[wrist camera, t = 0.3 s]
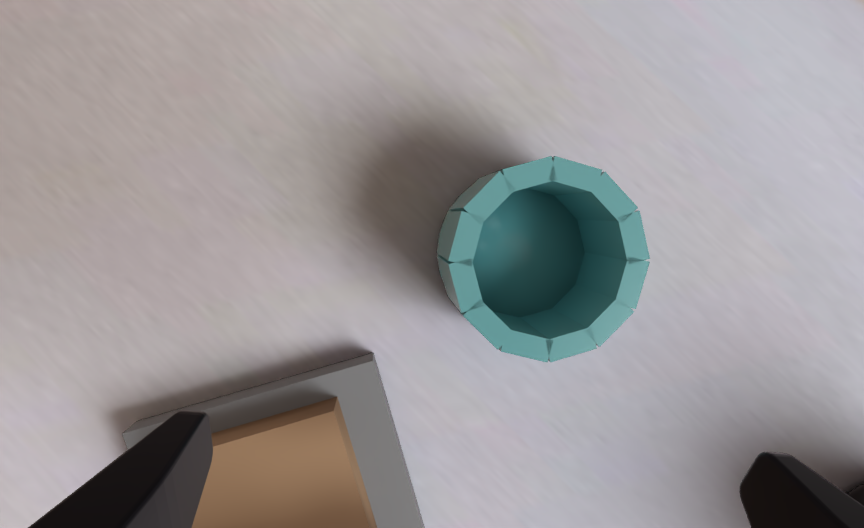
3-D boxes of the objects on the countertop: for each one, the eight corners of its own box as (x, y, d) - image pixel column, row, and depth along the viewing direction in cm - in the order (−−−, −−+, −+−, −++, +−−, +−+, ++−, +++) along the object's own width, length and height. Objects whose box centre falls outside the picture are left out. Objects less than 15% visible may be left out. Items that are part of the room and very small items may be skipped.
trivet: (446, 601, 23) (449, 622, 22) (227, 673, 22) (218, 699, 21) (373, 352, 21) (372, 360, 20) (136, 421, 21) (122, 433, 20)
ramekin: (608, 305, 22) (665, 328, 18) (460, 348, 22) (479, 383, 17) (573, 152, 21) (623, 136, 17) (418, 194, 21) (428, 189, 17)
